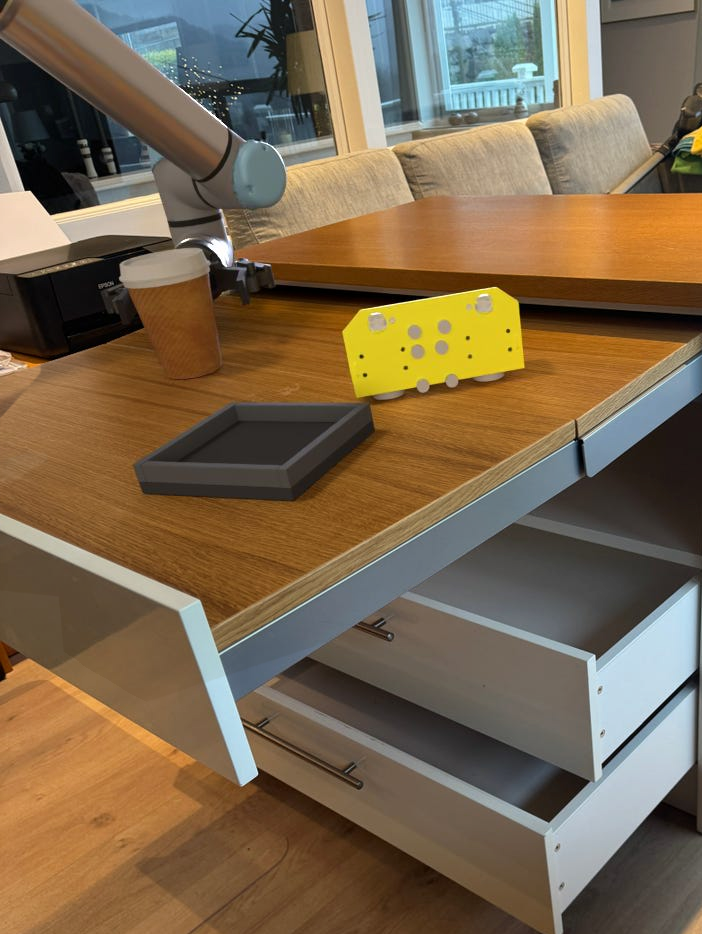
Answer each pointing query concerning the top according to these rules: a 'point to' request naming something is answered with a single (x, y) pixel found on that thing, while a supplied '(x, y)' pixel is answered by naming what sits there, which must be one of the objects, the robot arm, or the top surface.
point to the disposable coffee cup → (176, 309)
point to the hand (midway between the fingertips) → (182, 302)
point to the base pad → (256, 450)
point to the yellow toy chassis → (433, 342)
